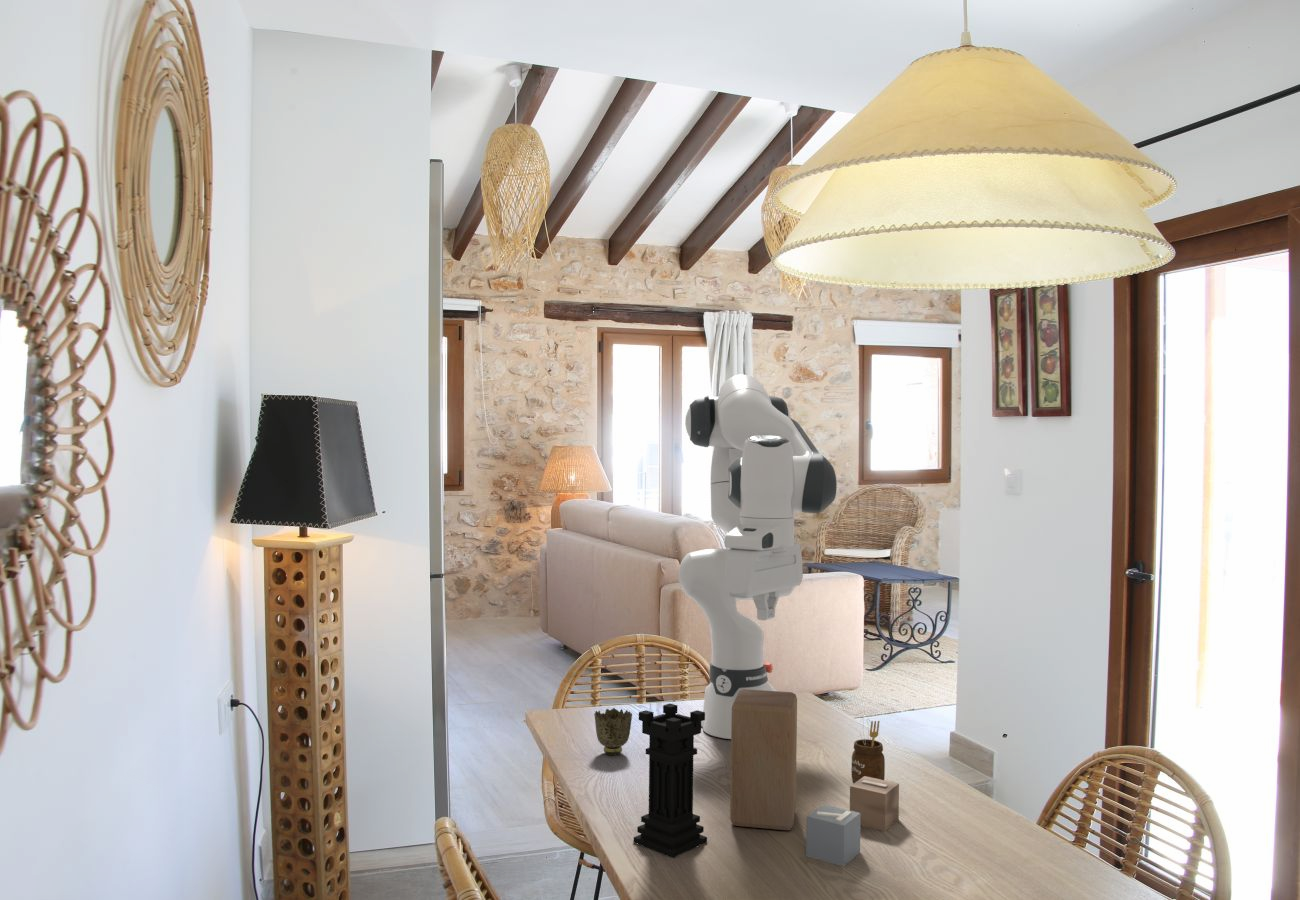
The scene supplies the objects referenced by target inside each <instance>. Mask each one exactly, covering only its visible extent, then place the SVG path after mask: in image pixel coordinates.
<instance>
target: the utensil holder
mask: <svg viewBox="0 0 1300 900" xmlns="http://www.w3.org/2000/svg"><path fill="white" fill-rule="evenodd" d="M865 719H866V723H867V725H869V722H870V726H869V727H870V728H867V737H870V739H869V738H867V739H866V738H865V730H864V729H865V727H864V725H862V730H863V731H862V733H863V737H862V733H861V732H859V735H860V737H861V739H857V740H855V741H854V743H853V749H854V750H853V752H852V755H851V769H850V770H851V779H852V781H853V782H854V783H855V782H857V781H858V780H859V779H861V778H862V777H864V776H867V777H871V778H876V779H881V780H885V778H886V777H885V774H886V773H885V772H886V771H885V770H886V769H885V768H886V762H885V754H884V753H883V752H884V746H883V743H882V742H880V741H878V740H875V738H877V737H879V730H880V720H878V721H877V720H875V721H873V720H870V719H869V718H866V717H863V718H862V720H863V721H862V720H860V721H859V723H861V722H862V723H864V721H865Z"/></svg>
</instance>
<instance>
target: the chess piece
mask: <svg viewBox="0 0 1300 900" xmlns="http://www.w3.org/2000/svg"><path fill="white" fill-rule="evenodd" d="M689 713H690V715H689V716H687V715H684V714H680V713H679V714H678V704H673V703H667V704H663V706H662V714H659V715H655V716H654V711H651V710H647V709H646V710H645V709H644V710H642V711H639V712H638V721H641V723H642V725H641V726H642V727H641V728H642V729H641V733H642V734H644V735H648V736H649V738H648V739H649V746H648V747H647V748H645V755H648V758H649V759H648V760H649V761H648V813H647V814H644V815H641V816H640V822H641V823H644V824H641V825H639V826H637V827H636V829H637V830H636V831H637V833H638V835H636V836H633V843H634V842H635V843H634V844H636V843H638V844H639V846H641V845H642V846H641V847H643V846H644V847H643V848H646V849H648V848H649V849H650V850H652V851H654V852H656V853H659V854H660V855H661V854H662V855H664V856H667V857H668V858H672V859H674V858H676V857H679V856H680V855H682V854H685V853H687V852H688V851H691V850H693V849H695V848H697V846H698V847H700V846H702V845H704V844H706V842H707V843H708V837H707V836H705V835H702V833H704V825H703V826H702V825H700V824H697V823H700V822H701V816H700V815H698V814H694V813H693V812H694V756H695V755H698V748H696V747H694V744H695V743H694V736H696V735H699V734H702V726H701V721H704V720H705V712H703V711H702V710H696V709H695V710H694V711H691V712H689ZM638 844H637V845H638Z"/></svg>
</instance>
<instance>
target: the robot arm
mask: <svg viewBox="0 0 1300 900" xmlns="http://www.w3.org/2000/svg"><path fill="white" fill-rule="evenodd" d="M685 429H686V430H685V431H686V433H687V435H688V437H689V440H690V441H691V442H692V443H693V445H695V446H699V447H702V448H703V447H704V448H708V447H713V450H712V451H713V452H712V457H711V465H710V512H711V513H710V517H711V519H712V521H713V522H714V524H715V525H716V527H718V528H720V530H721V529H722V530H723V531H725V532H727V533H726V534H725V536H724V539H723V540H724V547H725V548H706V549H699V550H696V551H695V550H694V551H691V552H688V553H687V554H686V555H685V556H684V557H683V559H682V560H681V562H680V564H679V567H678V574H677V575H678V577H677V578H678V582H679V585H680V587H681V590H682V592H684V594H685V595H686V596H687V597H689V598H690V599H691V600H692V601H694V602H695V603H696V604H697V605H698V606H699V607H700V609H701V611H702V612H703V614H704V615H705V617H706V619H707V622H708V626H709V630H710V641H711V642H710V643H711V662H710V664H709V669H708V674H709V677H708V678H709V679H708V680H709V681H710V683H709V684H708V685H707V686H706V687H705V691H704V697H703V698H704V701H703V708H702V709H703V711H702V712H705V720H704V721H701V728H702V730H703V732H705V733H706V734H708V735H710V736H712V737H717V738H721V739H728V740H731V725H732V705H733V703H734V701H735V699H736V696H737V694H738V692H739V691H740V690H743V689H748V690H764V691H777V689H775V687H773V686H772V685H771V684H770V683H769V682H768V681H769V678H768V674H772V672H773V668H774V666H773V664H772V663H766V662H764V637H765V636H764V635H765V634H764V630H763V629H762V627H761V625H760V623H758V622H757V621H756V620H755V619H752V618H751V617H749V616H747V615H744V614H743V613H741V612H739V611H738V608H737V602H738V601H753V603H754V605H755V608H756V619H757V620H758V621H765V622H766V621H768V620H771V619H774V618H775V617H776V607H777V604H778V601H779V599H780V598H784V597H788V596H790V595H791V594H792V593H793V591H794V590H795V588H796V587H797V586H801V583H802V582H803V576H804V575H803V574H804V572H803V570H804V569H803V556H802V549H801V545H800V544H799V543H798V539H797V537H796V536H795V512H798V513H799V512H801V513H805V514H806V513H807V514H816V515H819V514H821V513H822V512H824V511H825V510H826V509H827V508H828V507H830V506H831V504H833V502H834V501H835V499H836V497H837V487H838V486H837V485H838V484H837V474H836V471H835V468H834V466H833V465H832V463H831V462H830V461H829V460H828V459H827V458H826V457H825V456H824V455H823V454H821V453H820V452H819V449H817V447H816V446H815V445H814V443H813V441H812V440H811V439H810V437H809V435H808V434H807V433H806V432H805V430H804V429H803V428H802V426H801V424H800V423H799V422H797V420H795V419H793V418H792V417H791V413H790V410H789V408H788V404H787V402H786V401H785V400H784V399H783V398H782V397H778V396H774V395H773V396H772V395H769V393H768V392H767V390H766V388H765V387H764V386H763V385H762V383H761V382H760V381H759V380H758V379H757V378H755V377H754V376H751V375H748V374H737V375H733V376H731V377H729V378H728V379H727V380H725V381H724V382H723V384H722V385H721V386H720V389H719V392H718V396H710V395H706V396H704V397H700V398H697V399H695V400H693V401H692V402H691V403H690V404H689V407H688V410H687V412H686V416H685Z"/></svg>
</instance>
